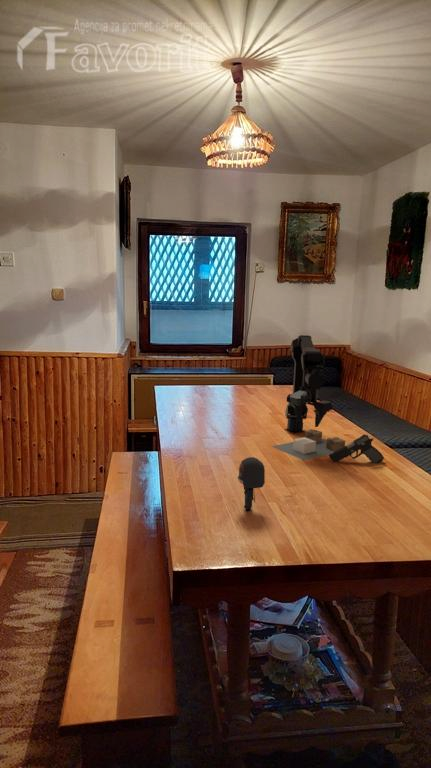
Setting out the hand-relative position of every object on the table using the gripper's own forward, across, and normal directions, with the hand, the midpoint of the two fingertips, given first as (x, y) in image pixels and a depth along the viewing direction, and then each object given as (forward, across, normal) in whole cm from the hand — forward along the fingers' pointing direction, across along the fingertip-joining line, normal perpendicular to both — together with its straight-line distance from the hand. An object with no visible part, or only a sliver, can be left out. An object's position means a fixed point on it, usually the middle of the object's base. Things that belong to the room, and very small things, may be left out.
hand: (307, 424), depth 190 cm
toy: (+11, +27, -51) cm, 59 cm away
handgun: (+11, +19, +7) cm, 23 cm away
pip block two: (+11, +5, +12) cm, 16 cm away
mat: (+11, -1, +5) cm, 12 cm away
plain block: (+11, 0, 0) cm, 11 cm away
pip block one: (+11, -7, +12) cm, 17 cm away
